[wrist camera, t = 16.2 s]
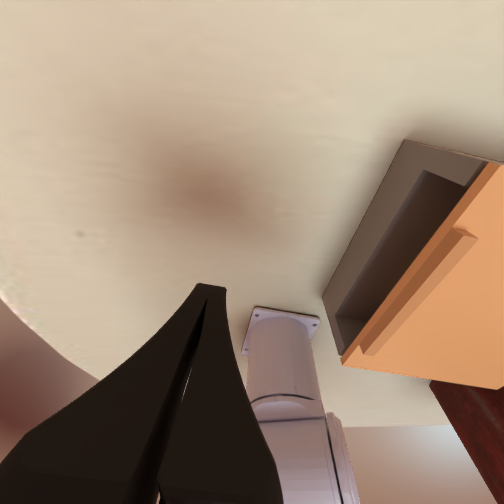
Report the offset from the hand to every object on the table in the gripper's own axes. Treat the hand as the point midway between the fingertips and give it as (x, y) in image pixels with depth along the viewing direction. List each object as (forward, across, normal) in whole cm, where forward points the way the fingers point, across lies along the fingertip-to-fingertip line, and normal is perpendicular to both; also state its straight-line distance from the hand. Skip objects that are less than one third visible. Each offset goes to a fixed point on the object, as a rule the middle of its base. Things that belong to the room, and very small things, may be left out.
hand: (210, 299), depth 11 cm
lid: (+3, -18, 0) cm, 18 cm away
